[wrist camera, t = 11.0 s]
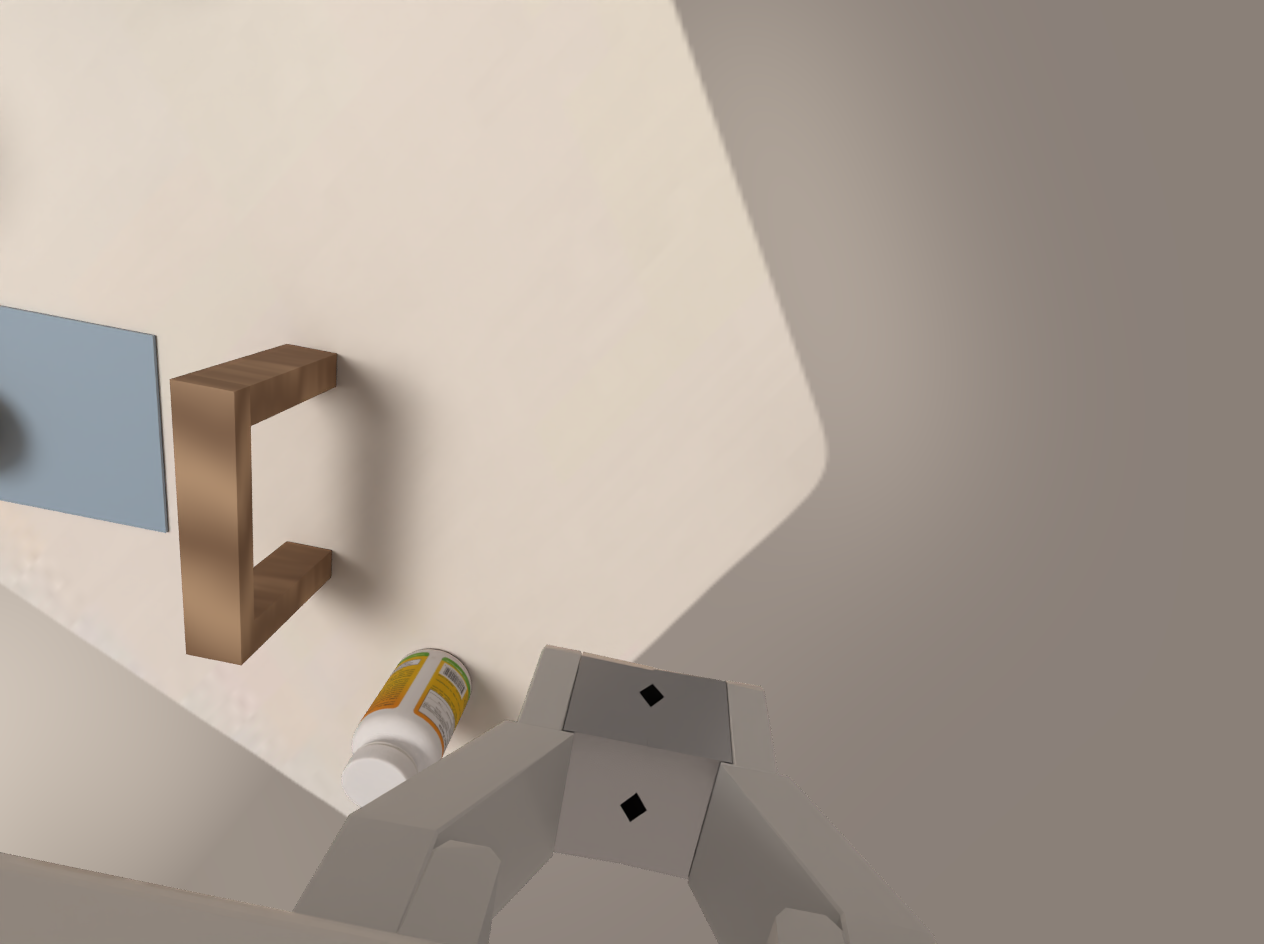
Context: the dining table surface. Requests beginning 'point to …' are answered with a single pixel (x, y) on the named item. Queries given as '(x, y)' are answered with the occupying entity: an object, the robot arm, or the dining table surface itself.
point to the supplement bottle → (407, 724)
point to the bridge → (238, 501)
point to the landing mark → (80, 419)
